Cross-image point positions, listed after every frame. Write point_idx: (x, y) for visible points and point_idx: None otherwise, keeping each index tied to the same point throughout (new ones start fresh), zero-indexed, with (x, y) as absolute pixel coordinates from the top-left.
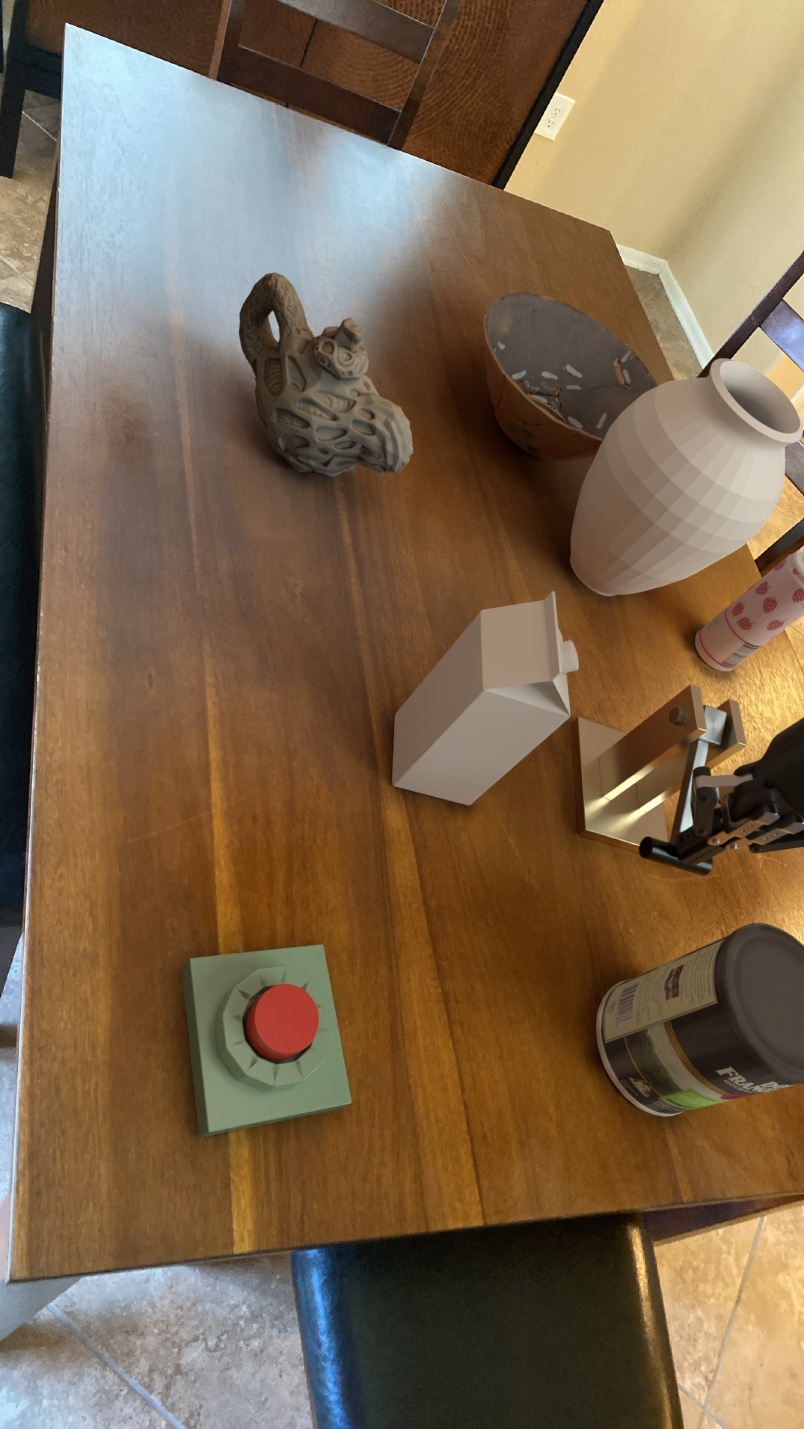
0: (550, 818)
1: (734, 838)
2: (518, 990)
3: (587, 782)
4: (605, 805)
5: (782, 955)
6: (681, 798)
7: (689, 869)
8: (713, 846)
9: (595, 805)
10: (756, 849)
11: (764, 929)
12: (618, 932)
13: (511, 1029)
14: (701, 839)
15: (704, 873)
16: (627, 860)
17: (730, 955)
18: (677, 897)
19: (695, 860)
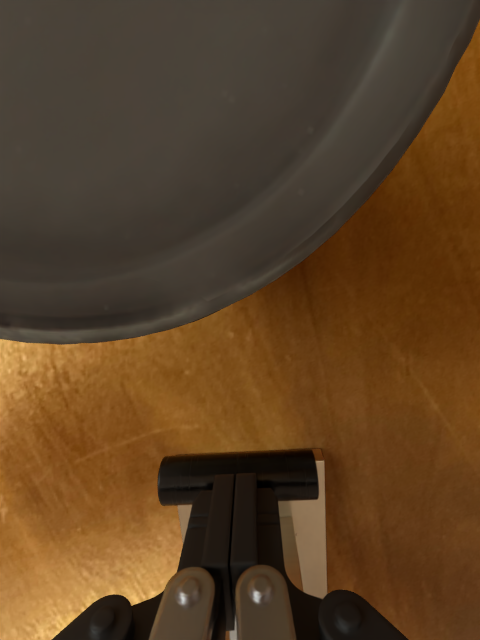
0: (365, 457)
1: (210, 637)
2: (439, 181)
3: (316, 530)
4: (287, 506)
5: (6, 185)
6: None
7: (206, 460)
8: (241, 560)
9: (305, 501)
10: (112, 625)
11: (131, 303)
12: (253, 325)
13: (457, 114)
14: (277, 565)
15: (169, 462)
16: (234, 436)
17: (438, 22)
18: (147, 408)
19: (229, 488)
